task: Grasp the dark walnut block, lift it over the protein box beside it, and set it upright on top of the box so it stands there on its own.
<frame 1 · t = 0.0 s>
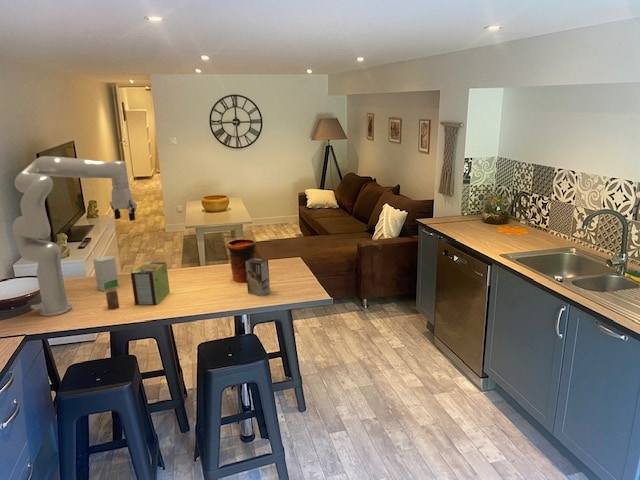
hand: (125, 219, 242), 31 cm above the breakfast bar, tool pointing down, fingers open, 9 cm apart
skincare box: (108, 288, 236), on the breakfast bar
walnut block: (113, 307, 213), on the breakfast bar
coffee box: (258, 292, 226), on the breakfast bar
protein box: (152, 298, 222), on the breakfast bar
vessel: (243, 279, 244), on the breakfast bar
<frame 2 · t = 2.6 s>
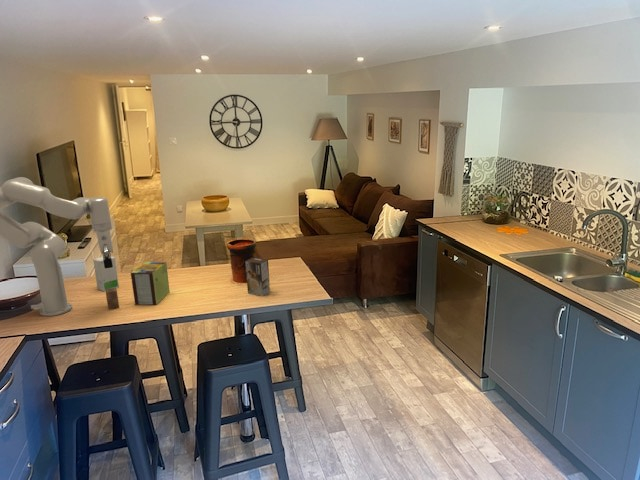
hand: (108, 264, 208), 20 cm above the breakfast bar, tool pointing down, fingers open, 9 cm apart
nothing on the breakfast bar moved.
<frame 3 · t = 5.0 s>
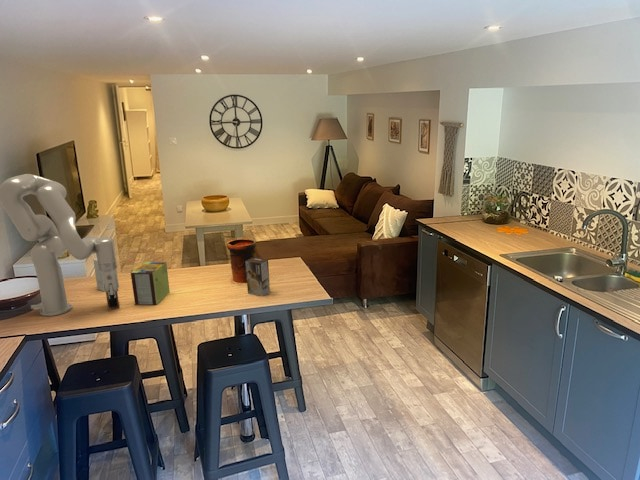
hand: (113, 304, 213), 1 cm above the breakfast bar, tool pointing down, fingers closed on walnut block, 4 cm apart
walnut block: (113, 306, 213), on the breakfast bar, touching gripper
everything else where it was.
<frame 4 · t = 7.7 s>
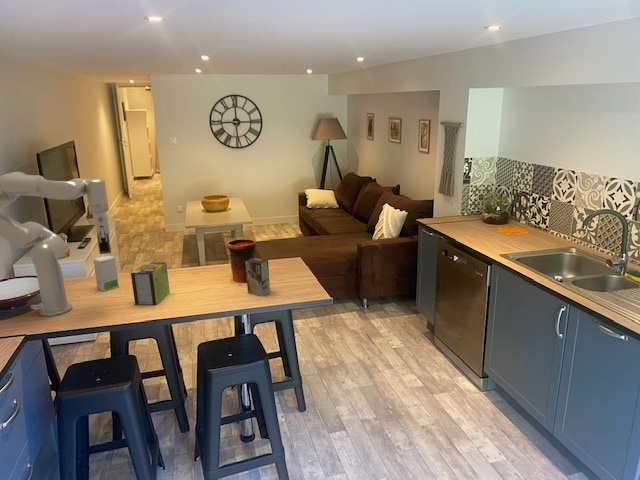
hand: (104, 249, 206), 27 cm above the breakfast bar, tool pointing down, fingers closed on walnut block, 4 cm apart
walnut block: (105, 252, 206), point 26 cm above the breakfast bar, touching gripper
everything else where it was.
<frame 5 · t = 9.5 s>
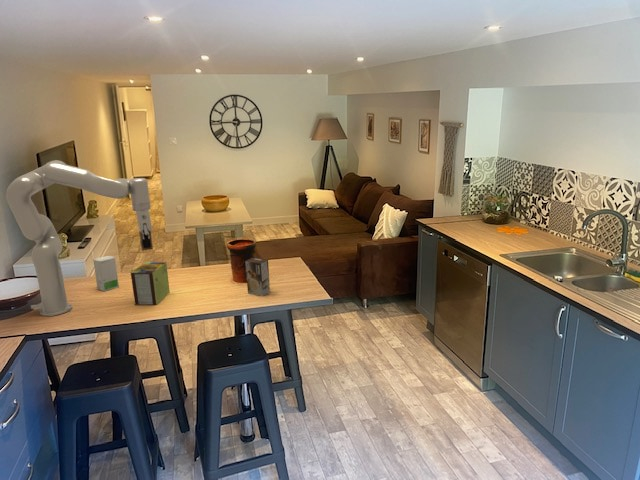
hand: (146, 245, 215), 25 cm above the breakfast bar, tool pointing down, fingers closed on walnut block, 4 cm apart
walnut block: (147, 248, 215), point 24 cm above the breakfast bar, touching gripper
everything else where it was.
when the fingers open (19 cm above the breakfast bar, at t = 10.9 s): walnut block drops 2 cm, resting on protein box.
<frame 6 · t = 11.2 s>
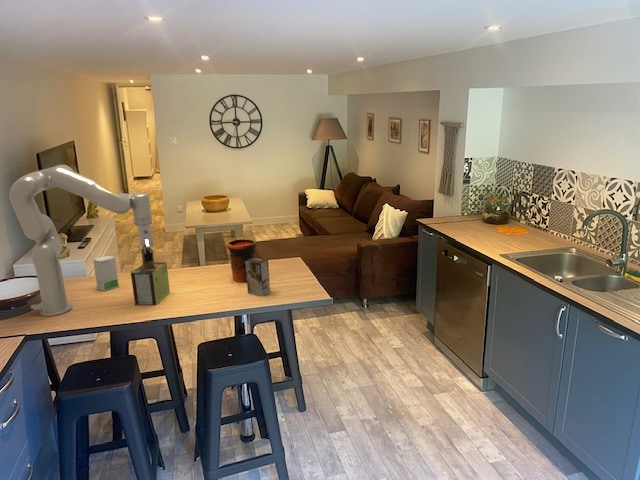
hand: (147, 258, 217), 19 cm above the breakfast bar, tool pointing down, fingers open, 7 cm apart
walnut block: (148, 266, 218), point 15 cm above the breakfast bar, touching protein box
protein box: (152, 298, 222), on the breakfast bar, touching walnut block
everything else where it was.
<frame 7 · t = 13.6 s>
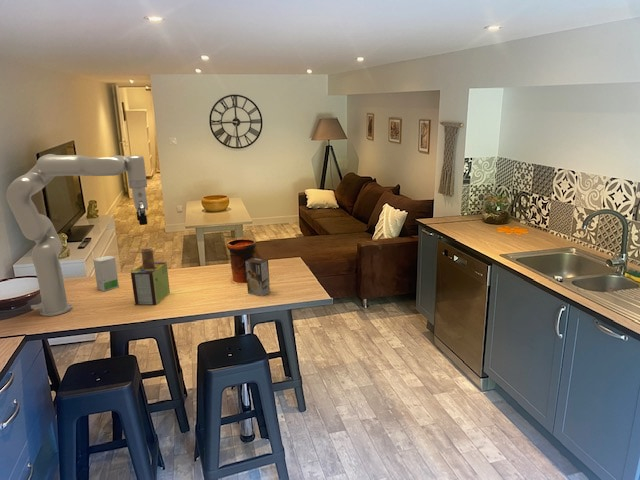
hand: (142, 222, 212), 36 cm above the breakfast bar, tool pointing down, fingers open, 9 cm apart
nothing on the breakfast bar moved.
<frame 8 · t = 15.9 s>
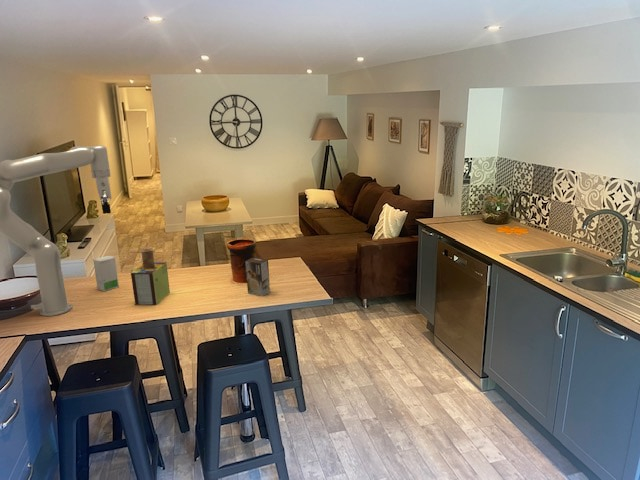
hand: (106, 211, 217), 40 cm above the breakfast bar, tool pointing down, fingers open, 9 cm apart
nothing on the breakfast bar moved.
at the end: walnut block inside the target area on the protein box (0.0 cm from its centre), point 15.7 cm above the protein box's base; walnut block tilted 0°; the gripper is holding nothing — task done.
